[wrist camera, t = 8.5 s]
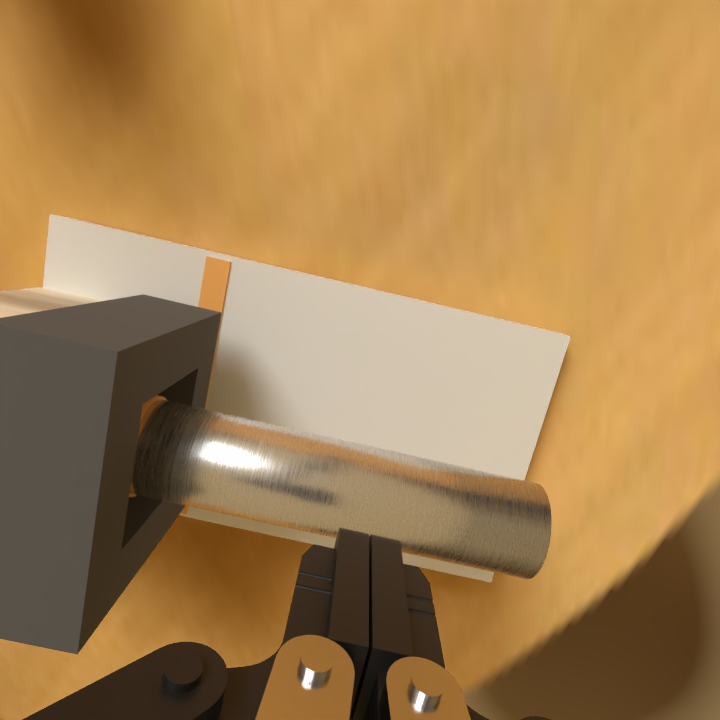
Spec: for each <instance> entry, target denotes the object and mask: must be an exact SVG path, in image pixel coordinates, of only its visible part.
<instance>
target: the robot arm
mask: <svg viewBox="0 0 720 720" xmlns="http://www.w3.org/2000/svg"><path fill="white" fill-rule="evenodd" d="M432 600H433V599H432V594H431V588H430V583H429V582H428V580H427V579H426V577H425V576H424V574H423V573H422V571H421V570H420V569H419V567H417V566H412V565H407V564H403V558H402V549H401V542H400V541H399V540H395V539H390V538H386V537H381V536H376V535H372V534H371V535H370V536H369V534H367V533H362V532H358V531H353V530H349V529H344V528H339V531H338V534H337V538H336V542H335V546H334V548H329V547H325V546H320V545H315V544H314V545H313V546H312V547H311V548H310V549H309V550H308V551H307V552H306V553H305V554H304V555H303V556H302V560H301V564H300V568H299V573H298V577H297V581H296V586H295V590H294V594H293V599H292V603H291V607H290V612H289V616H288V621H287V625H286V630H285V634H284V638H283V643H282V644H281V646H280V648H279V649H278V650H277V652H276V653H275V654H273V655H272V656H271V657H270V658H268V659H267V660H265V661H263V662H261V663H258V664H255V665H252V666H246V667H236V668H226V665H225V662H224V660H223V659H222V658H221V656H220V655H219V654H218V653H217V652H216V651H215V650H213V649H211V648H210V647H208V646H205V645H203V644H199V643H194V642H178V643H173V644H169V645H166V646H164V647H162V648H159V649H157V650H155V651H153V652H152V653H150V654H148V655H146V656H144V657H142V658H140V659H138V660H136V661H134V662H132V663H130V664H129V665H127V666H125V667H123V668H121V669H119V670H117V671H115V672H113V673H111V674H109V675H107V676H105V677H104V678H102V679H100V680H98V681H96V682H94V683H92V684H90V685H88V686H86V687H84V688H82V689H80V690H79V691H77V692H75V693H73V694H71V695H69V696H67V697H65V698H63V699H61V700H59V701H57V702H55V703H54V704H52V705H50V706H48V707H46V708H44V709H42V710H40V711H38V712H36V713H34V714H32V715H30V716H29V717H27V718H25V719H23V720H489V719H487V718H485V717H483V716H482V715H480V714H478V713H477V712H475V711H474V710H472V709H471V708H470V707H469V706H467V705H466V702H465V698H464V695H463V692H462V690H461V688H460V686H459V684H458V683H457V681H456V680H455V679H454V677H453V676H452V675H451V674H450V673H449V672H448V671H447V670H445V665H444V660H443V654H442V649H441V643H440V638H439V632H438V627H437V621H436V617H435V610H434V605H433V603H432ZM522 720H550V719H547V718H543V717H537V716H533V717H532V716H530V717H526V718H524V719H522Z"/></svg>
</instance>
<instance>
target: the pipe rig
mask: <svg viewBox="0 0 720 720" xmlns="http://www.w3.org/2000/svg"><path fill="white" fill-rule="evenodd" d="M143 294H144V295H148V296H153V297H157V298H161V299H166V300H170V301H174V302H179V303H183V304H187V305H192V306H196V307H200V308H205V309H209V310H213V311H218V312H222V313H221V319H220V324H219V330H218V336H217V342H216V347H215V353H214V359H213V365H212V370H211V376H210V382H209V387H208V393H207V399H206V405H205V409H202V408H198V407H193V406H189V405H184V404H180V403H175V402H171V401H167V399H166V398H165V397H163V396H158V395H156V396H155V397H153V398H152V399H150V400H148V401H147V402H145V403H144V404H143V405H142V412H141V419H140V426H139V432H138V439H137V446H136V453H135V460H134V466H133V473H132V480H131V487H130V494H129V497H135V496H137V495H139V496H144V497H148V498H153V499H158V500H162V501H167V502H172V503H176V504H181V505H185V507H184V508H183V510H182V511H181V513H180V514H179V516H184V517H188V518H193V519H198V520H202V521H207V522H211V523H216V524H221V525H225V526H230V527H235V528H239V529H244V530H249V531H253V532H258V533H263V534H267V535H272V536H276V537H281V538H286V539H290V540H295V541H300V542H304V543H309V544H315V545H320V546H325V547H329V548H334V546H335V542H336V538H337V534H338V531H339V528H344V529H349V530H353V531H358V532H362V533H367V534H369V536H370V535H371V534H372V535H376V536H381V537H386V538H390V539H395V540H399V541H400V542H401V549H402V558H403V564H407V565H412V566H417V567H420V568H425V569H430V570H434V571H439V572H444V573H448V574H453V575H458V576H462V577H467V578H471V579H476V580H481V581H485V582H490V583H491V582H492V579H493V576H494V573H500V574H505V575H509V576H514V577H518V578H523V579H531V578H533V577H534V576H535V575H536V574H537V573H538V572H539V570H540V569H541V567H542V565H543V563H544V560H545V558H546V555H547V552H548V547H549V543H550V536H551V509H550V503H549V499H548V496H547V494H546V492H545V490H544V488H543V487H542V486H541V485H540V484H537V483H534V482H529V481H525V477H526V474H527V471H528V468H529V464H530V461H531V458H532V455H533V452H534V449H535V446H536V443H537V440H538V437H539V434H540V430H541V427H542V424H543V421H544V418H545V415H546V412H547V409H548V406H549V403H550V400H551V396H552V393H553V390H554V387H555V384H556V381H557V378H558V375H559V372H560V369H561V365H562V362H563V359H564V356H565V353H566V350H567V347H568V344H569V341H570V338H571V336H568V335H566V334H563V333H560V332H555V331H551V330H547V329H543V328H538V327H534V326H530V325H526V324H521V323H517V322H513V321H508V320H504V319H500V318H496V317H491V316H487V315H483V314H479V313H474V312H470V311H466V310H462V309H457V308H453V307H449V306H445V305H440V304H436V303H432V302H428V301H423V300H419V299H415V298H410V297H406V296H402V295H398V294H393V293H389V292H385V291H381V290H376V289H372V288H368V287H364V286H359V285H355V284H351V283H347V282H342V281H338V280H334V279H330V278H325V277H321V276H317V275H312V274H308V273H304V272H300V271H295V270H291V269H287V268H283V267H278V266H274V265H270V264H266V263H261V262H257V261H253V260H249V259H244V258H240V257H236V256H232V255H227V254H223V253H219V252H214V251H210V250H206V249H202V248H197V247H193V246H189V245H185V244H180V243H176V242H172V241H168V240H163V239H159V238H155V237H151V236H146V235H142V234H138V233H134V232H129V231H125V230H121V229H116V228H112V227H108V226H104V225H99V224H95V223H91V222H87V221H82V220H78V219H74V218H70V217H65V216H59V215H51V214H50V219H49V230H48V240H47V250H46V260H45V270H44V280H43V287H38V288H27V289H16V290H5V291H0V318H3V317H9V316H15V315H21V314H27V313H33V312H39V311H45V310H51V309H57V308H64V307H70V306H76V305H82V304H88V303H94V302H100V301H106V300H112V299H118V298H124V297H130V296H137V295H143Z"/></svg>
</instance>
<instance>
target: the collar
mask: <svg viewBox="0 0 720 720" xmlns="http://www.w3.org/2000/svg"><path fill="white" fill-rule="evenodd" d="M221 313H222V312H218V311H213V310H209V309H205V308H200V307H196V306H192V305H187V304H183V303H179V302H174V301H170V300H166V299H161V298H157V297H153V296H148V295H144V294H143V295H137V296H130V297H124V298H118V299H112V300H106V301H100V302H94V303H88V304H82V305H76V306H70V307H64V308H57V309H51V310H45V311H39V312H33V313H27V314H21V315H15V316H9V317H3V318H0V639H5V640H10V641H15V642H20V643H25V644H29V645H34V646H39V647H44V648H49V649H54V650H59V651H64V652H69V653H74V654H78V653H79V651H80V650H81V649H82V647H83V646H84V645H85V643H86V642H87V640H88V639H89V638H90V636H91V635H92V634H93V632H94V631H95V629H96V628H97V627H98V625H99V624H100V623H101V621H102V620H103V618H104V617H105V616H106V614H107V613H108V612H109V610H110V609H111V607H112V606H113V605H114V603H115V602H116V601H117V599H118V598H119V596H120V595H121V594H122V592H123V591H124V590H125V588H126V587H127V585H128V584H129V583H130V581H131V580H132V579H133V577H134V576H135V574H136V573H137V572H138V570H139V569H140V568H141V566H142V565H143V563H144V562H145V561H146V559H147V558H148V557H149V555H150V554H151V552H152V551H153V550H154V548H155V547H156V546H157V544H158V543H159V541H160V540H161V539H162V537H163V536H164V535H165V533H166V532H167V530H168V529H169V528H170V526H171V525H172V524H173V522H174V521H175V519H176V518H177V517H178V515H179V514H180V513H181V511H182V510H183V508H184V507H185V505H181V504H176V503H172V502H167V501H162V500H158V499H153V498H148V497H144V496H139V495H137V496H135V497H129V494H130V487H131V480H132V473H133V466H134V460H135V453H136V446H137V439H138V432H139V426H140V419H141V412H142V405H143V404H144V403H145V402H147V401H148V400H150V399H152V398H153V397H155V396H156V395H158V396H163V397H165V398H166V399H167V401H171V402H175V403H180V404H184V405H189V406H193V407H198V408H202V409H205V405H206V399H207V393H208V387H209V382H210V376H211V370H212V365H213V359H214V353H215V347H216V342H217V336H218V330H219V324H220V319H221Z"/></svg>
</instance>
